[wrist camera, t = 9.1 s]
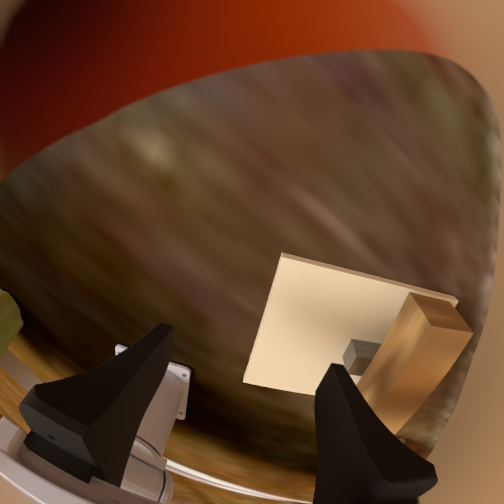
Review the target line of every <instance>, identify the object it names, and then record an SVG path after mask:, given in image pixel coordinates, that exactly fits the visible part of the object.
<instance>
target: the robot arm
mask: <svg viewBox="0 0 504 504" xmlns="http://www.w3.org/2000/svg"><path fill="white" fill-rule="evenodd" d="M172 338H173V326H170V325H167V324H163V323H159V324H158V325H156V326H155V327H154V328H153V329H152V330H150V331H149V332H148V333H147V334H146V335H144V336H143V337H142V338H140V339H139V340H138V341H136V342H135V343H134V344H132V345H131V346H130V347H125V346H122V345H117V346H116V347H115V351H116V356H114V357H113V358H111V359H109V360H108V361H106V362H104V363H102V364H100V365H98V366H96V367H94V368H92V369H89V370H87V371H85V372H82V373H80V374H77V375H74V376H71V377H68V378H65V379H61V380H57V381H53V382H48V383H42V384H36V385H35V386H34V387H33V388H32V389H31V390H30V391H29V393H28V394H27V395H26V396H25V398H24V399H23V401H22V402H21V403H20V405H19V410H20V413H21V415H22V416H23V418H24V420H25V421H26V423H27V424H28V426H29V427H30V429H31V431H30V433H29V434H27V433H26V432H25V431H24V430H22V429H21V428H20V427H18V426H17V425H16V424H14V423H13V422H11V421H10V420H9V419H8V418H6V417H3V418H2V419H1V420H0V475H1V476H2V477H3V478H4V479H5V480H7V481H8V482H9V483H11V484H12V485H13V486H15V487H16V488H17V489H19V490H20V491H21V492H23V493H24V494H26V495H27V496H29V497H30V498H31V499H33V500H34V501H36V502H37V503H39V504H170V502H171V499H172V495H173V489H174V485H173V481H172V477H171V474H170V472H169V471H167V470H165V466H166V463H167V460H166V459H164V458H162V455H163V453H164V450H165V447H166V444H167V441H168V439H169V436H170V433H171V430H172V427H173V424H174V422H175V419H176V418H177V419H181V420H184V419H185V415H186V407H187V398H188V390H189V382H190V375H191V370H190V368H188V367H186V366H182V365H179V364H176V363H172V362H170V360H171V351H172ZM185 374H186V375H185ZM314 411H315V424H316V436H317V451H318V459H317V474H316V484H315V492H314V499H313V504H418V500H417V498H418V497H419V496H421V495H422V494H424V493H425V492H427V491H428V490H430V489H431V488H432V487H434V486H435V485H436V483H437V481H438V478H437V475H436V471H435V467H434V465H433V464H432V463H430V462H428V461H427V460H425V459H424V458H422V457H420V456H419V455H417V454H416V453H415V452H413V451H412V450H411V449H410V448H408V447H407V446H406V445H405V444H403V443H402V442H401V441H400V440H399V439H398V438H397V437H396V436H395V435H394V434H393V433H392V432H391V431H390V430H389V429H388V428H387V427H386V426H385V425H384V424H383V422H382V421H381V420H380V419H379V418H378V416H377V415H376V414H375V412H374V411H373V410H372V408H371V407H370V406H369V404H368V403H367V401H366V400H365V398H364V397H363V395H362V394H361V392H360V391H359V389H358V388H357V386H356V384H355V383H354V381H353V380H352V378H351V376H350V375H349V373H348V371H347V370H346V368H345V367H344V365H342V364H336V363H331V364H330V366H329V368H328V370H327V371H326V373H325V375H324V377H323V379H322V380H321V382H320V384H319V386H318V387H317V389H316V391H315V407H314Z"/></svg>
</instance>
